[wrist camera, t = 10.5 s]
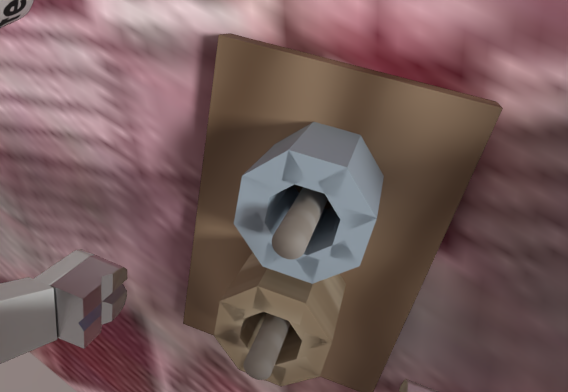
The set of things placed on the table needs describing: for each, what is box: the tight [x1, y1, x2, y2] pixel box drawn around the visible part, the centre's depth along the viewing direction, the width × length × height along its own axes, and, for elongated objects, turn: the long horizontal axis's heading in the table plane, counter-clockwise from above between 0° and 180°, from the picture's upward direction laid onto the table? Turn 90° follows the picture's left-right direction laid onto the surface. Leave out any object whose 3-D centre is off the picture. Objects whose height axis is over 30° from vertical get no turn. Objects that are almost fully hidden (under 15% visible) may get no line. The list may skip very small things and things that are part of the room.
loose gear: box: [234, 122, 384, 284], centre depth 20 cm, size 6×6×5 cm
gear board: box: [183, 34, 503, 392], centre depth 22 cm, size 14×20×8 cm
